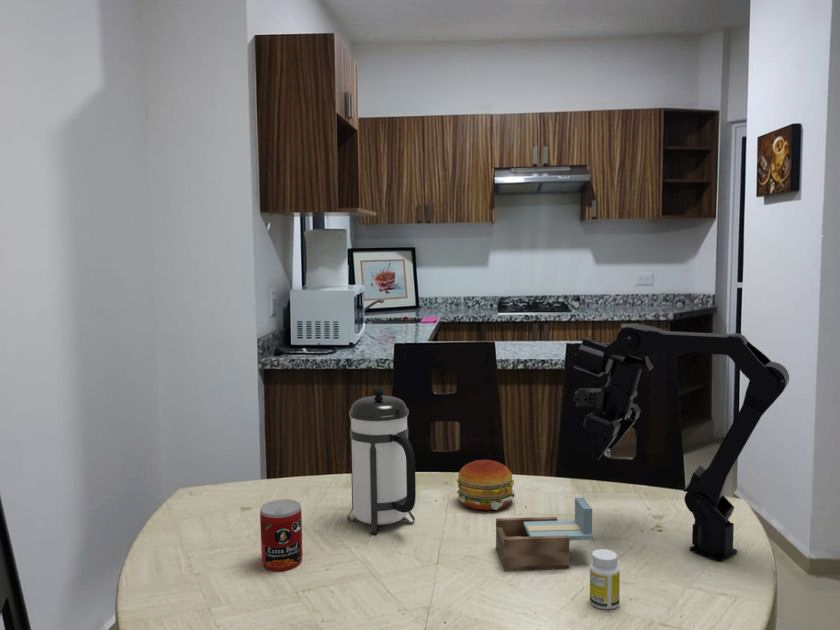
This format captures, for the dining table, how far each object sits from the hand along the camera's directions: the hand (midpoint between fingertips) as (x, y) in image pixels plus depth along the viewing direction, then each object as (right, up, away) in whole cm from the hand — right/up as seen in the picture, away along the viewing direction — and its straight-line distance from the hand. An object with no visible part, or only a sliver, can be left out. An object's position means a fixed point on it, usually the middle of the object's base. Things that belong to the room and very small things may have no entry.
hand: (602, 453), depth 143 cm
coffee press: (-46, -16, +6) cm, 49 cm away
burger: (-23, -15, +17) cm, 32 cm away
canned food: (-64, -18, -13) cm, 68 cm away
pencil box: (-17, -17, -12) cm, 27 cm away
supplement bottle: (-8, -19, -29) cm, 36 cm away
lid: (-12, -13, -12) cm, 21 cm away
